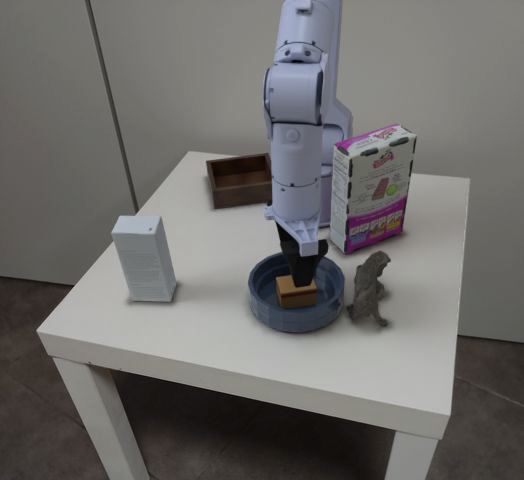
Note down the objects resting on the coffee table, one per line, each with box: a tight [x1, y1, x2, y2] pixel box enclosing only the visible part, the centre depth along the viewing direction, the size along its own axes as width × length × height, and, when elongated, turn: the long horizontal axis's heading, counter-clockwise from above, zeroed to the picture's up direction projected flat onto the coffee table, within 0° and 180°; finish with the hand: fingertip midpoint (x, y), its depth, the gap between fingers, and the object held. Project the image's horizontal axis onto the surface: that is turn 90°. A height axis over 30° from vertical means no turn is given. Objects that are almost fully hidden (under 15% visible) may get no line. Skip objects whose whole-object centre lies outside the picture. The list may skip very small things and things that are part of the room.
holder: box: [205, 152, 273, 210], centre depth 97 cm, size 12×11×4 cm
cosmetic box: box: [110, 215, 177, 303], centre depth 76 cm, size 6×4×12 cm
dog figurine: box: [346, 250, 392, 326], centre depth 74 cm, size 12×6×7 cm, turn 166°
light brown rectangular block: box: [276, 275, 317, 309], centre depth 76 cm, size 5×4×3 cm
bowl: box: [247, 251, 346, 333], centre depth 76 cm, size 13×13×4 cm
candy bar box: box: [329, 123, 418, 255], centre depth 81 cm, size 11×5×16 cm, turn 117°
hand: (296, 266), depth 73 cm, fingers open, 7 cm apart
